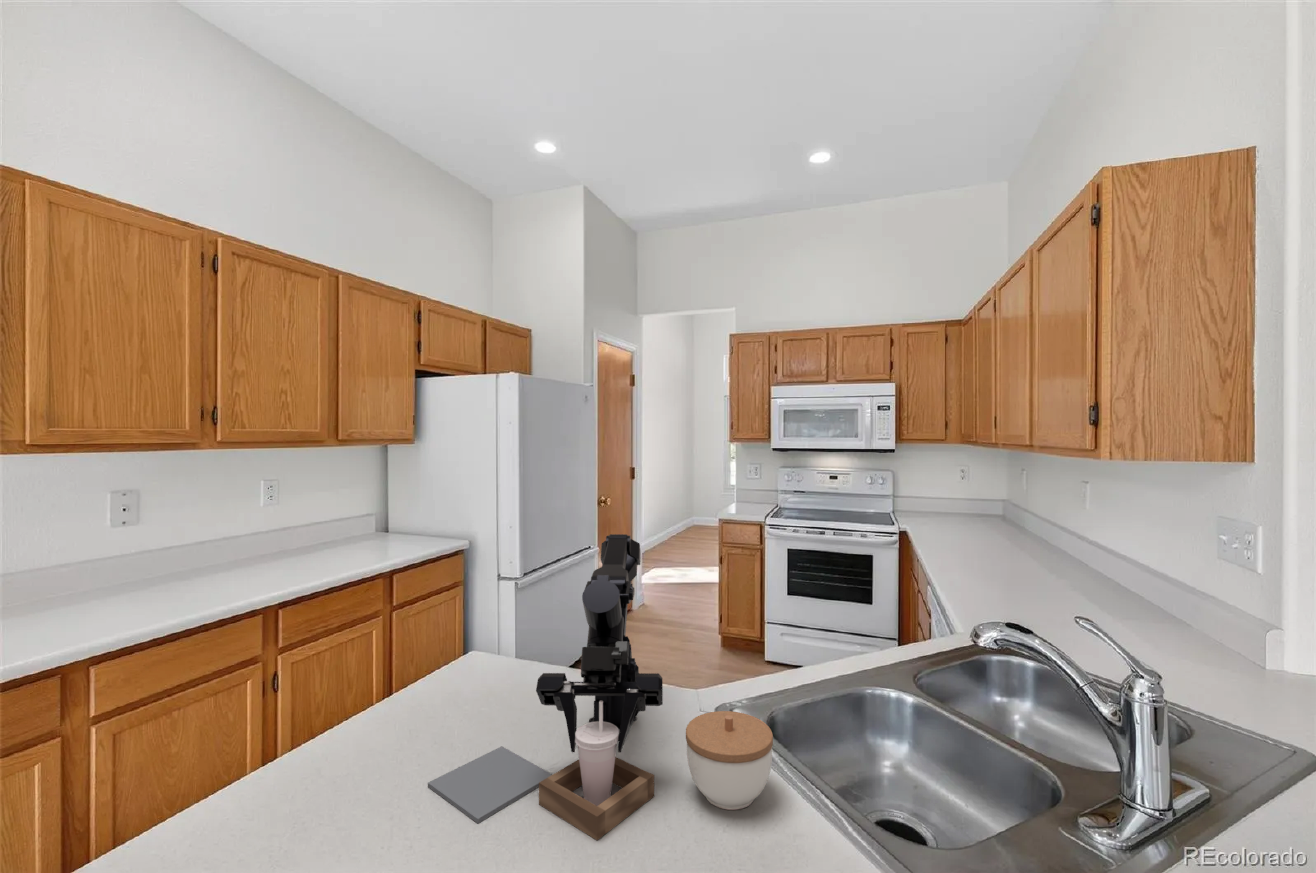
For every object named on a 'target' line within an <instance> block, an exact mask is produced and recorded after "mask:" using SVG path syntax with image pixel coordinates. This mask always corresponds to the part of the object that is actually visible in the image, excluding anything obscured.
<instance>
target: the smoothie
mask: <svg viewBox="0 0 1316 873" xmlns="http://www.w3.org/2000/svg"><path fill="white" fill-rule="evenodd" d="M619 732H620V730H619V729H618V727H617V726H615V725H614V724H612V723H609V722H603V701H599V721H597V722H590V723H589V722H587V723H585V724H582V725H580V726H579V727H578V728H577V729H576V732H575V743H576V746H577V752H578V759H579V762H580V770H581V778H582V792H583V795H582V796H583V798H584V799H586V800H587V801H589V802H591V803H593V804H594V805H596V806H598V805H599V804H601V803H602V802H604V801H605V800H606V799H608V798H609V797H611V796H612V788H613V783H612V781H613V772H614V763H615V757H616V754H617V747H618V745H617V744H618V739H619Z"/></svg>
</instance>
